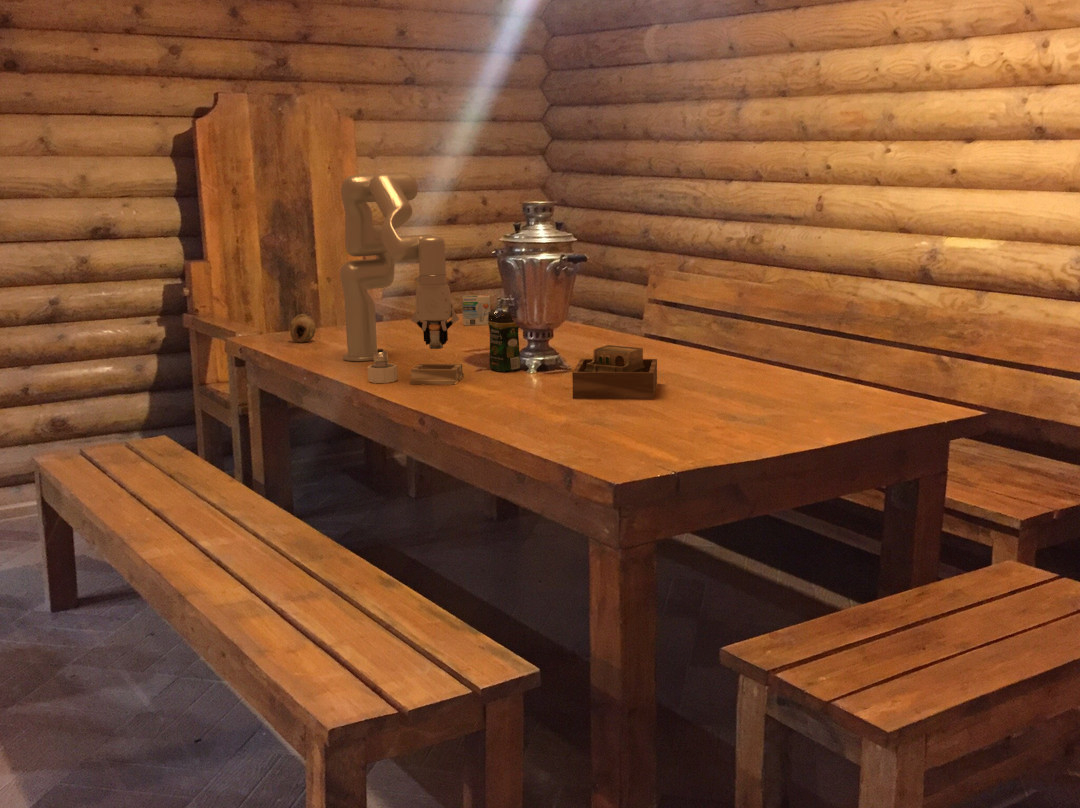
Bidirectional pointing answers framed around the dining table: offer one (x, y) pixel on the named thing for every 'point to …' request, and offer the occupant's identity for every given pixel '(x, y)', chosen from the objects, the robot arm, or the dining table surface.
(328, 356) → the dining table surface
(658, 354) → the dining table surface
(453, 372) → the tray
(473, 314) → the light bulb box
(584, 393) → the open brown storage box
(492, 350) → the coffee jar
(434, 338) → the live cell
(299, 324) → the tan rounded piece
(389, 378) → the beige piece
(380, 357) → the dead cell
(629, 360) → the miniature house
